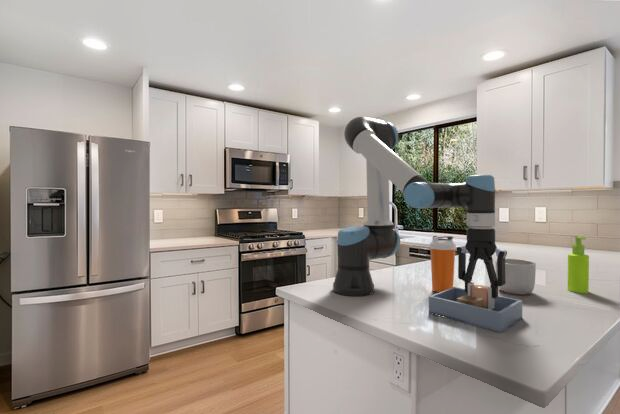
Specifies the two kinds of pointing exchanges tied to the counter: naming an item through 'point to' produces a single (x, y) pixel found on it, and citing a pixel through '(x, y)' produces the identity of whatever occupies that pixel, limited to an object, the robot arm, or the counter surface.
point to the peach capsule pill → (480, 293)
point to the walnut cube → (471, 301)
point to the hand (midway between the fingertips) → (481, 306)
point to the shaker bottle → (442, 262)
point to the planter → (518, 276)
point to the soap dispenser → (578, 268)
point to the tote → (476, 310)
